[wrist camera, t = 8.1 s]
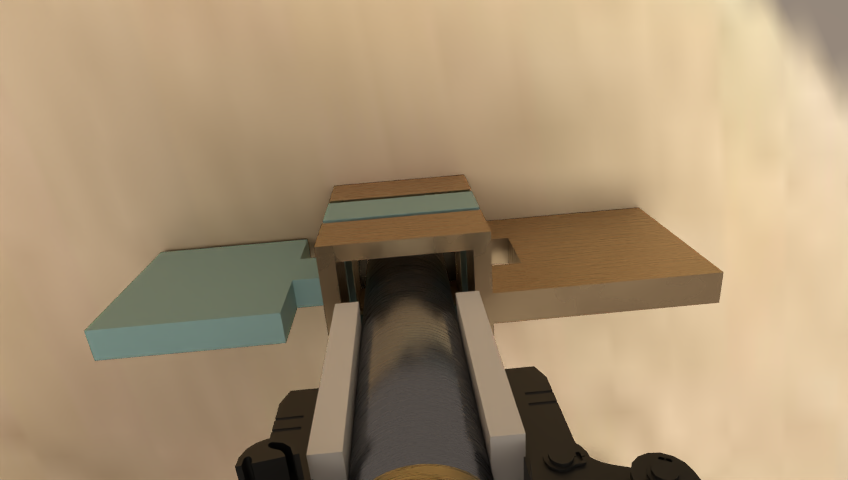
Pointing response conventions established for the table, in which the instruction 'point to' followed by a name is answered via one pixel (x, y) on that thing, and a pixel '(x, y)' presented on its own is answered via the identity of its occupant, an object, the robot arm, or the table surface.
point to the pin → (414, 379)
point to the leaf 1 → (237, 289)
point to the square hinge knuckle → (522, 256)
